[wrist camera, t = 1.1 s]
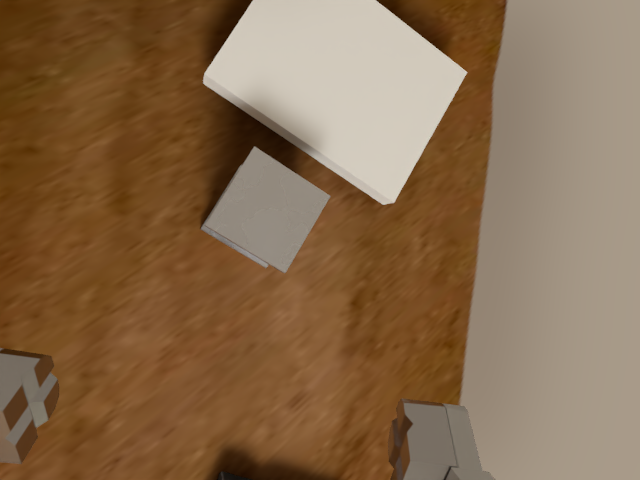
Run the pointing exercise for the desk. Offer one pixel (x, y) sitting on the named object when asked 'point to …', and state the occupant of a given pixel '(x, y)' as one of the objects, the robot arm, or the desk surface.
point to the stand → (339, 85)
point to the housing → (266, 211)
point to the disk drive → (230, 477)
